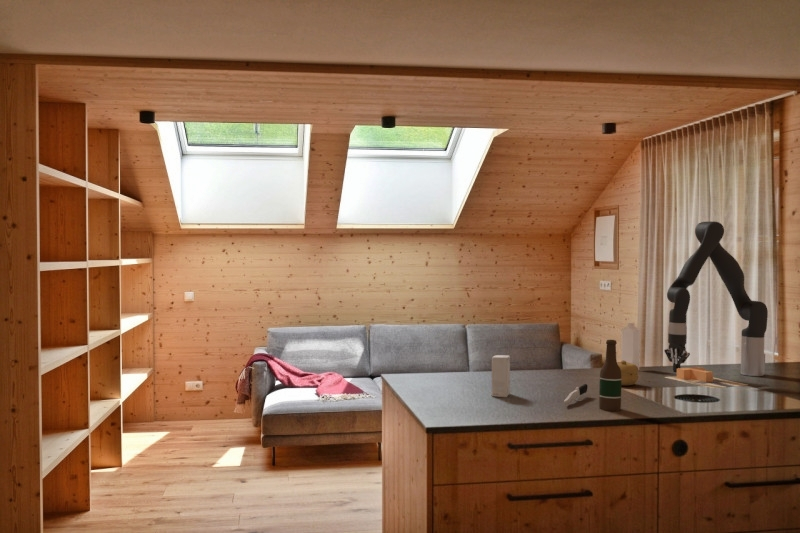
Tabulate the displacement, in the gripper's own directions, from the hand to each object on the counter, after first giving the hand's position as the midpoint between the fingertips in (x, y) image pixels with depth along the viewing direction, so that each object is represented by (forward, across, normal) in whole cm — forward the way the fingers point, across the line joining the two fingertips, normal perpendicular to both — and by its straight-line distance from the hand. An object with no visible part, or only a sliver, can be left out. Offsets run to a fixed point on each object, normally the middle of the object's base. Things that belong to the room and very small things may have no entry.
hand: (676, 372), depth 317 cm
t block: (+1, -12, 0) cm, 12 cm away
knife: (+2, -26, +75) cm, 79 cm away
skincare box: (+2, -6, +94) cm, 94 cm away
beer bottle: (+2, -40, +71) cm, 81 cm away
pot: (+2, -6, +35) cm, 36 cm away
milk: (+2, +20, +8) cm, 22 cm away
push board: (+2, -16, 0) cm, 16 cm away
